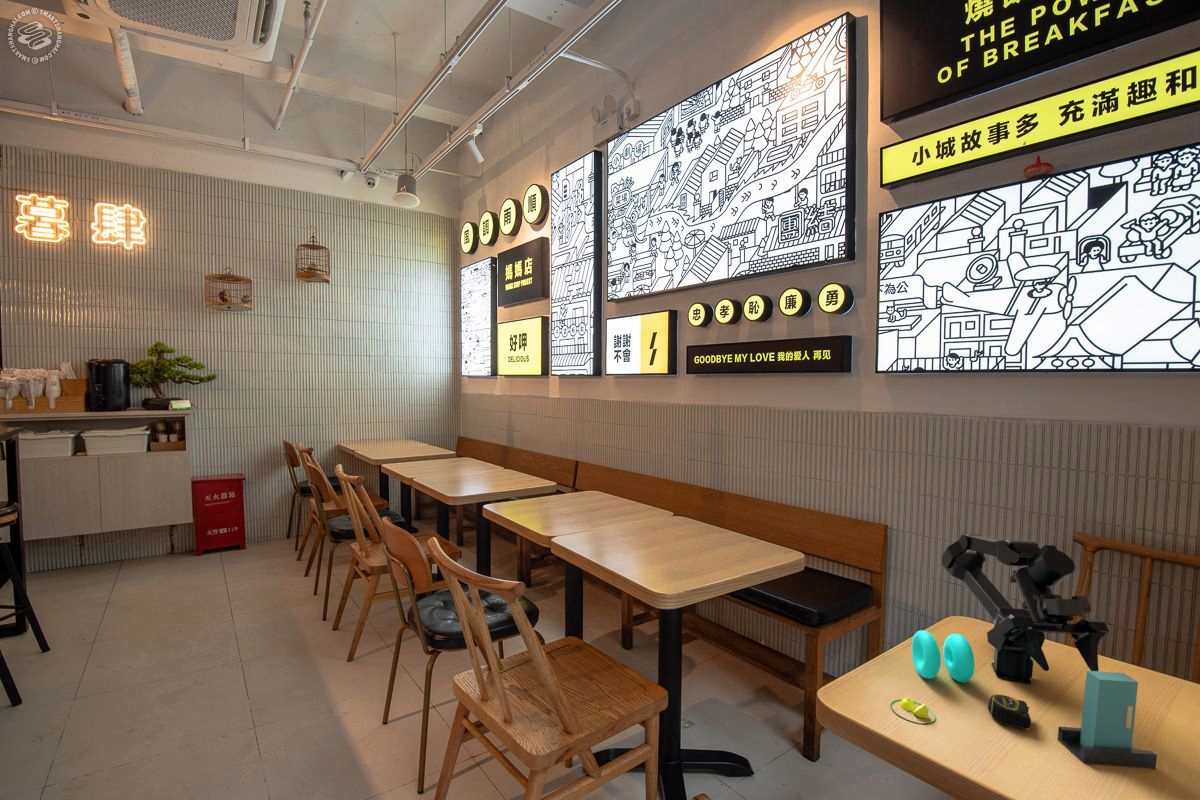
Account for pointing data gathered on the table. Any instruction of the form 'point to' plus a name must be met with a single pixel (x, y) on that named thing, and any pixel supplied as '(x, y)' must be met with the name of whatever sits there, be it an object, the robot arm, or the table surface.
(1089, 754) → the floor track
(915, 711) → the lemon
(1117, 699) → the door panel
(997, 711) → the tape measure
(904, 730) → the table surface
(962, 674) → the donuts
